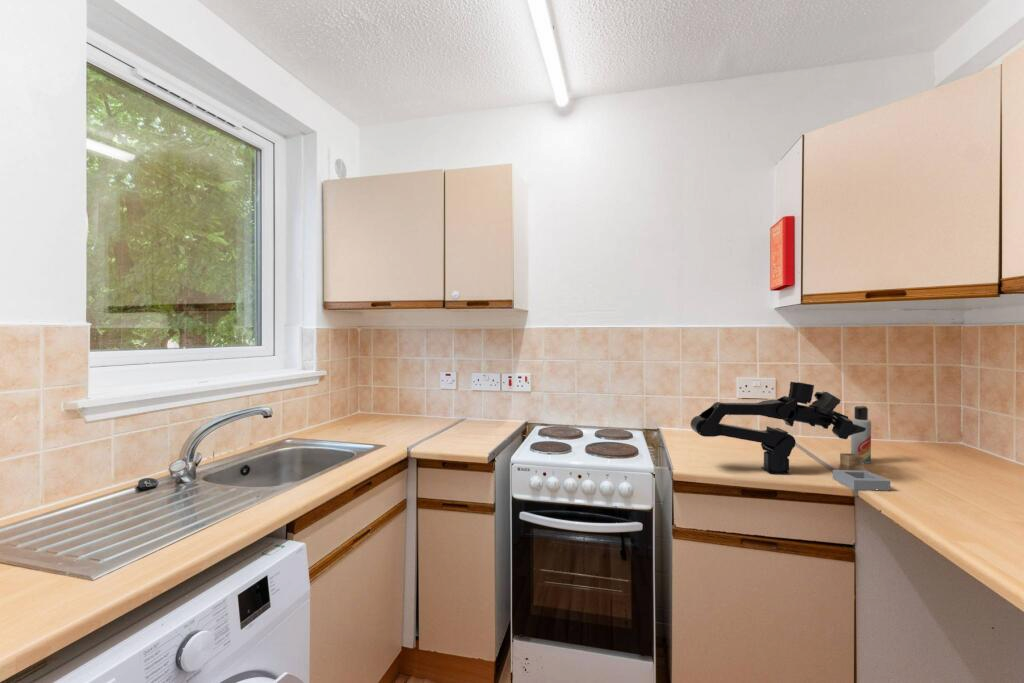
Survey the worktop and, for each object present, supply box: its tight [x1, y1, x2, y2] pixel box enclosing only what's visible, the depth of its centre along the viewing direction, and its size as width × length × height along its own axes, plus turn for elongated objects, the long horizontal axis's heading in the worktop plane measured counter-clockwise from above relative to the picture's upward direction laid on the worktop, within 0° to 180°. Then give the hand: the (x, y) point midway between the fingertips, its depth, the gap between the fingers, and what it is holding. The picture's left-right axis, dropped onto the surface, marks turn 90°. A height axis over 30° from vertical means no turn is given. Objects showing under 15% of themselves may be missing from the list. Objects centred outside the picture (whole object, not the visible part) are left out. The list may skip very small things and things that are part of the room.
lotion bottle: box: [850, 405, 872, 465], centre depth 161 cm, size 6×6×20 cm
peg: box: [839, 452, 864, 470], centre depth 148 cm, size 4×4×6 cm
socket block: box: [832, 469, 891, 492], centre depth 136 cm, size 10×10×3 cm
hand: (856, 423), depth 147 cm, fingers open, 9 cm apart
